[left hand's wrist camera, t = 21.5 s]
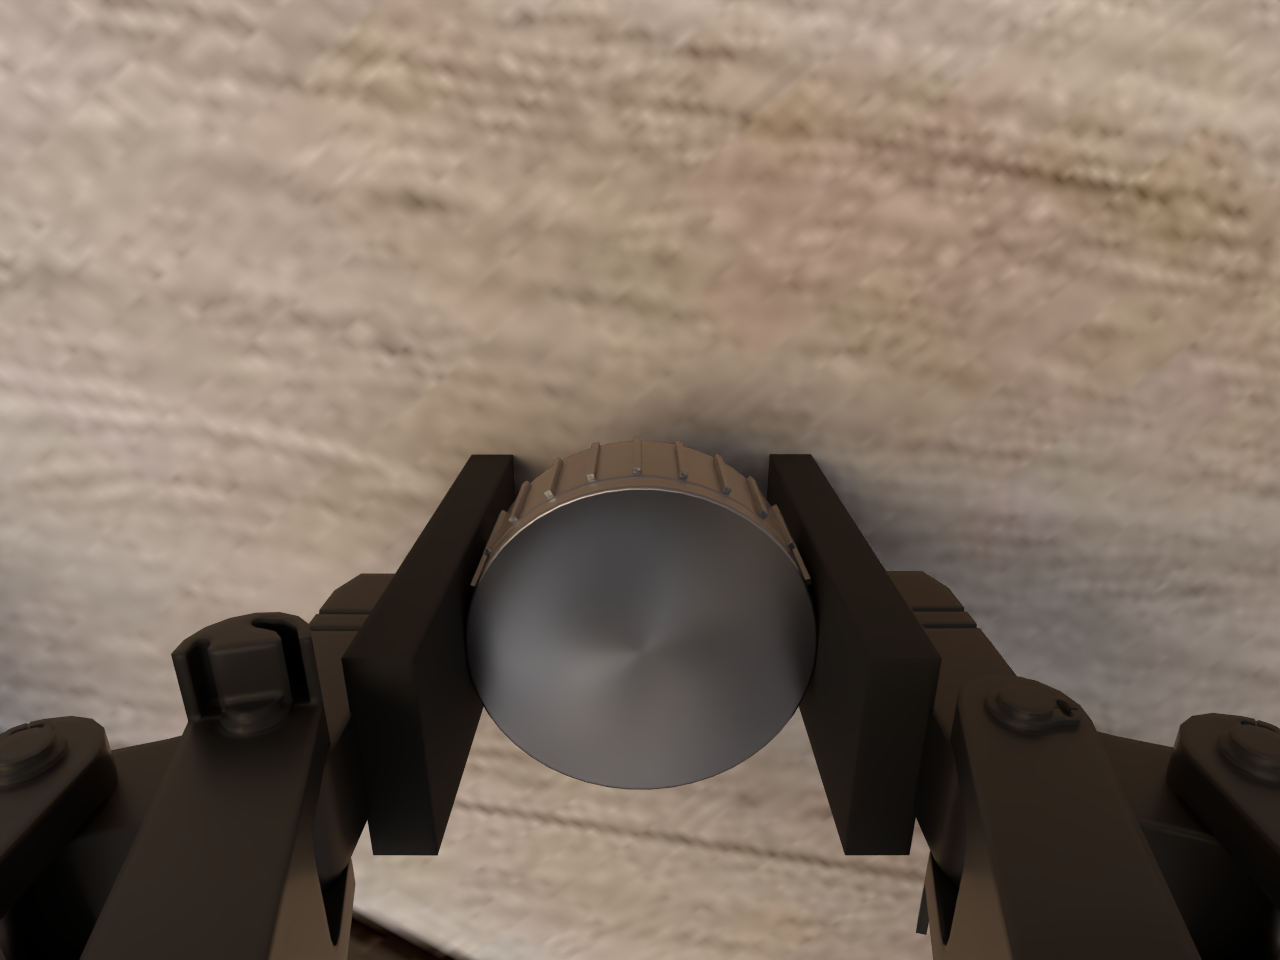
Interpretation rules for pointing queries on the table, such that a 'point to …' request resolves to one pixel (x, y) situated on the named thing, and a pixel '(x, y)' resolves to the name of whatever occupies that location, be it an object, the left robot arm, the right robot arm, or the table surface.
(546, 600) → the lid
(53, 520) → the table surface
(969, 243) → the table surface
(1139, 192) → the table surface
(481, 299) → the table surface
